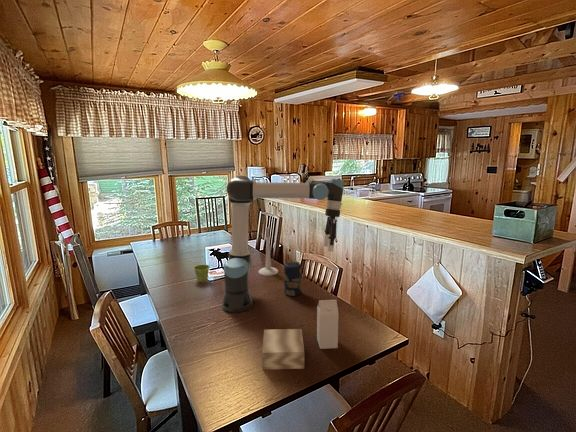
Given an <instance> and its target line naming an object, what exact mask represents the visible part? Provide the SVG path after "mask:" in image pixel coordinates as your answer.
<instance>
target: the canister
mask: <svg viewBox="0 0 576 432" xmlns="http://www.w3.org/2000/svg"><path fill="white" fill-rule="evenodd" d="M283 275H284V276H283V277H284V278H283V280H284V283H283V284H284V285H283V286H284V293H285V294H286V296H290V297H291V296H292V297H294V296H299V295H300V294H301V293H302V280H303V279H302V264H301V263H299V262H297V261H290V262H289V261H288V262H286V263H284V265H283Z"/></svg>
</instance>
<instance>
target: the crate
mask: <svg viewBox="0 0 576 432" xmlns="http://www.w3.org/2000/svg"><path fill="white" fill-rule="evenodd" d="M261 356H262V358H261V359H262V361H261V364H262V370H293V369H295V370H301V369H302V370H303V369H305V347H304V338H303V331H302V328H287V329H286V328H283V329H282V328H281V329H280V328H279V329H263V339H262V351H261Z"/></svg>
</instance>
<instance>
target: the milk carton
mask: <svg viewBox="0 0 576 432" xmlns="http://www.w3.org/2000/svg"><path fill="white" fill-rule="evenodd" d="M337 302H338V300H337V299H325V300H324V299H323V300H322V299H321V300H318V303H317V306H316V316H317V317H316V340H317V343H318V347H319V349H320V350H327V349H338V347H339V345H338V344H339V343H338V341H339V308H338V303H337Z"/></svg>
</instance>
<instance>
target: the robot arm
mask: <svg viewBox="0 0 576 432" xmlns="http://www.w3.org/2000/svg"><path fill="white" fill-rule="evenodd" d="M344 183H345V182H344V180H342V179H336V178H330V179H329V181H321V180H320V181H319V180H314V179H312V180H311V179H308V180H306V182H261V181H260V182H258V181H256V180H253V179H250V178H249V177H248V176H245V175H236V176H234V177H233V178H231V179H230V180H229V181H228V183H227V185H226V193H227V195H228V198H229V200H228V202H229V203H230V205H231V249H230V250H229V252H228V260H226V261H225V263H224V265H223V274H224V275H223V276H224V291H225V292H224V295H223V299H222V303H221V304H222V310H224V311H225V312H228V313H233V314H234V313H235V314H239V313H242V312H243V313H244V312H246V311H249V310H250V309H251V308H253V299H252V296H251V294H250V291H249V274H250V269H251V267H252V258H251V256H252V255H251V253H252V252H251V251H250V250H249V215H250V214H249V212H250V205H251V204H252V203H253V201H256V200H257V199H296V200H297V199H301V200H302V199H303V200H304V199H307V200H312V199H313V200H318V201H323V200H325V199H326V205H325V206H326V208H325V216H326V217H327V218H326V224H325V228H324V238H323V247H326V248H327V252H332V253H333V252H334V246H335V241H336V240H335V239H336V238H337V222H338V220H337V218H340V215H341V207H342V206H343V203H342V199H343V193H344Z"/></svg>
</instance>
